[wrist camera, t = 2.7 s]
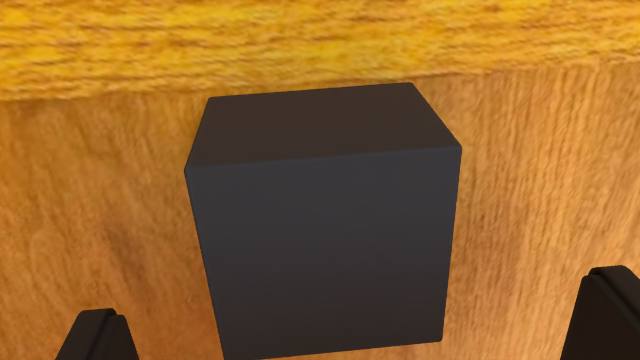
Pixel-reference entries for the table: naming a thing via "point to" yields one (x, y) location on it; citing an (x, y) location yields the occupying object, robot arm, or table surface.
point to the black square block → (324, 219)
